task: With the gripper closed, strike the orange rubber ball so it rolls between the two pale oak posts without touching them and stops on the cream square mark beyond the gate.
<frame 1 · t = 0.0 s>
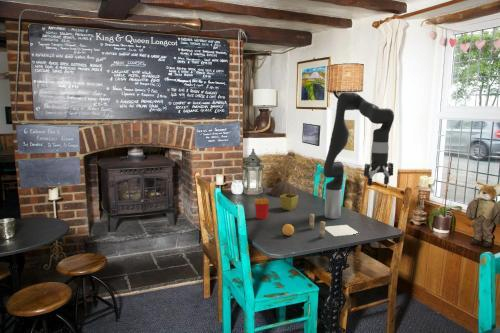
hand: (377, 185, 188), 29 cm above the table, tool pointing down, fingers open, 8 cm apart
decorative dome: (283, 195, 290), on the table
flower pot: (288, 209, 251), on the table
french fries: (261, 218, 233), on the table
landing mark: (340, 230, 211), on the table
right post: (322, 237, 201), on the table
left post: (311, 228, 214), on the table
ball: (288, 229, 203), on the table
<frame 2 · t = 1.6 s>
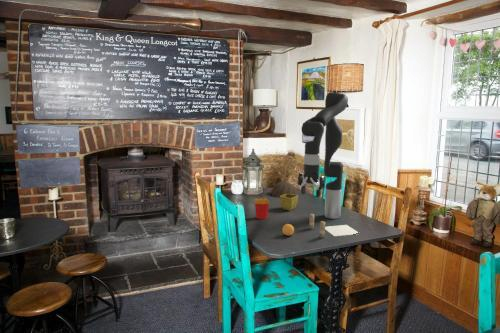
hand: (310, 195, 194), 23 cm above the table, tool pointing down, fingers open, 8 cm apart
nothing on the table moved.
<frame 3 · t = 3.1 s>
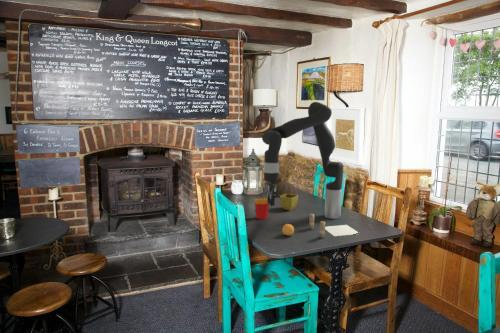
hand: (271, 204, 198), 17 cm above the table, tool pointing down, fingers open, 3 cm apart
nothing on the table moved.
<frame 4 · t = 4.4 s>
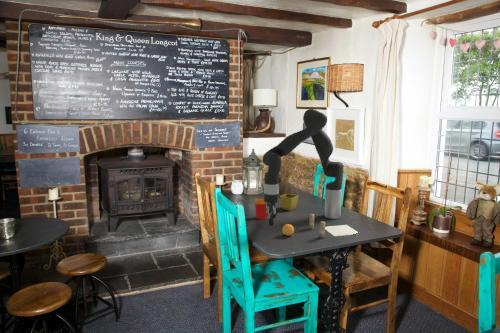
hand: (270, 225, 200), 6 cm above the table, tool pointing down, fingers closed
nothing on the table moved.
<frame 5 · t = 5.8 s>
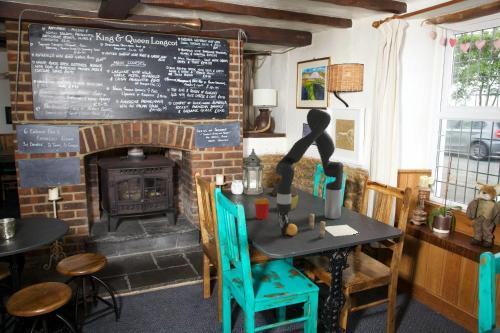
hand: (283, 233, 204), 1 cm above the table, tool pointing down, fingers closed
ball: (291, 229, 204), on the table
everything else where it was.
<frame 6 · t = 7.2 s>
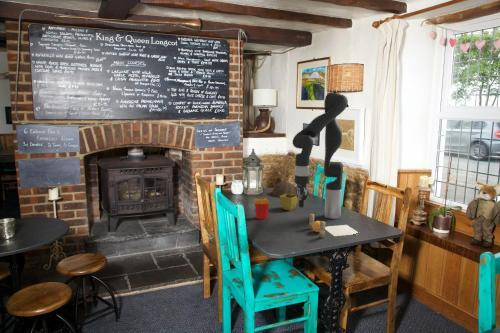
hand: (301, 206, 203), 15 cm above the table, tool pointing down, fingers closed
ball: (317, 226, 209), on the table
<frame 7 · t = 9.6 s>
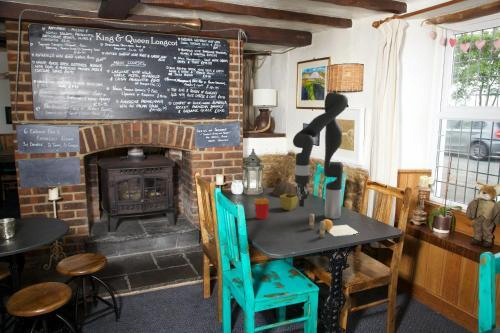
hand: (301, 206, 203), 15 cm above the table, tool pointing down, fingers closed
ball: (327, 224, 211), on the table
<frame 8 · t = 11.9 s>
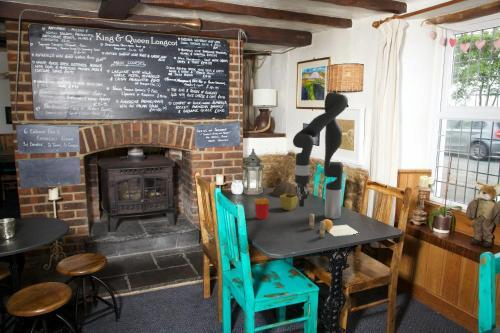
hand: (301, 206, 203), 15 cm above the table, tool pointing down, fingers closed
at the end: ball 7.4 cm from the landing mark (horizontally); ball never touched left post; ball never touched right post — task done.
